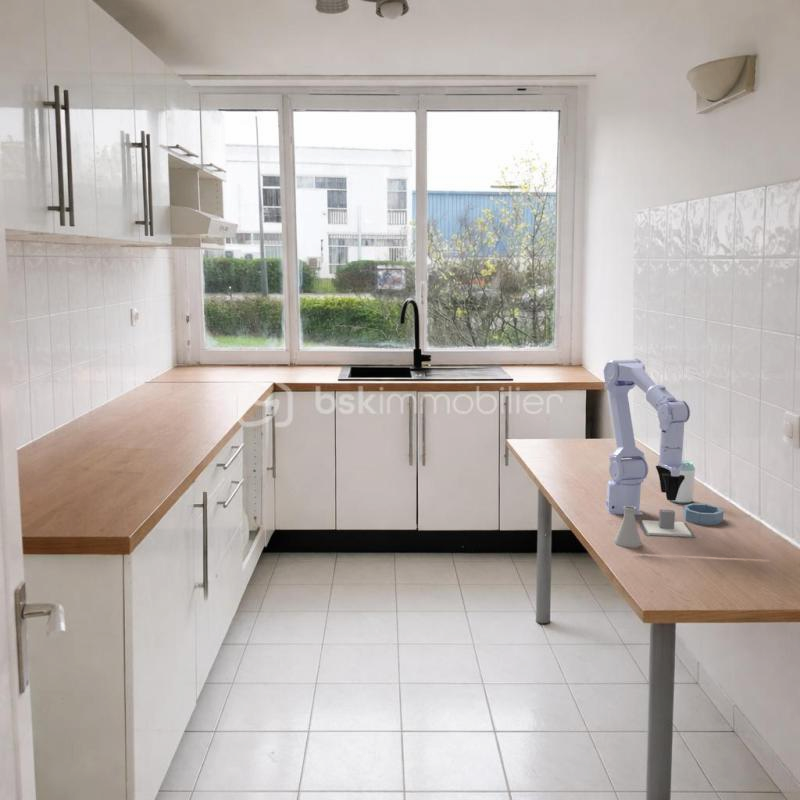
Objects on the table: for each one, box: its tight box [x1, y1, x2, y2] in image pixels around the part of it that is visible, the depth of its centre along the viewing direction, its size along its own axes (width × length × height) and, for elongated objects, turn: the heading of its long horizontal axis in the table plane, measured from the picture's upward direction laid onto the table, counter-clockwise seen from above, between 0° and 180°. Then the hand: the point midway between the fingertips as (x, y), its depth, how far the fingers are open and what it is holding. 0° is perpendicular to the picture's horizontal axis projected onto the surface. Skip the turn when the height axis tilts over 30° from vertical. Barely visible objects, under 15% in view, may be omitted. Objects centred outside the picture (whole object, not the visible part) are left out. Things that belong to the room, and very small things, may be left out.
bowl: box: [682, 502, 724, 526], centre depth 250 cm, size 10×10×4 cm
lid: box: [641, 509, 692, 537], centre depth 240 cm, size 11×11×5 cm
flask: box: [613, 506, 643, 548], centre depth 228 cm, size 7×7×10 cm
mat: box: [637, 520, 697, 539], centre depth 240 cm, size 13×13×1 cm
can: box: [670, 459, 696, 505], centre depth 269 cm, size 7×7×12 cm
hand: (668, 496), depth 239 cm, fingers open, 7 cm apart
